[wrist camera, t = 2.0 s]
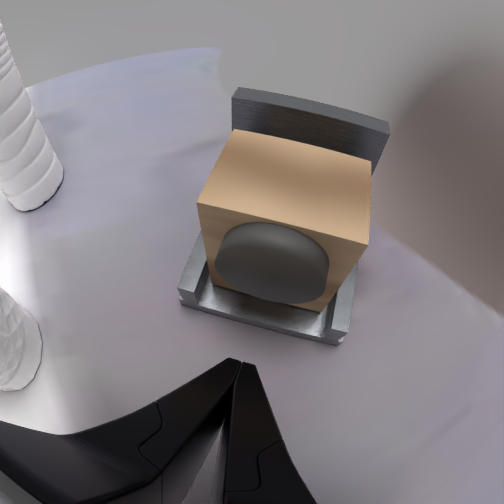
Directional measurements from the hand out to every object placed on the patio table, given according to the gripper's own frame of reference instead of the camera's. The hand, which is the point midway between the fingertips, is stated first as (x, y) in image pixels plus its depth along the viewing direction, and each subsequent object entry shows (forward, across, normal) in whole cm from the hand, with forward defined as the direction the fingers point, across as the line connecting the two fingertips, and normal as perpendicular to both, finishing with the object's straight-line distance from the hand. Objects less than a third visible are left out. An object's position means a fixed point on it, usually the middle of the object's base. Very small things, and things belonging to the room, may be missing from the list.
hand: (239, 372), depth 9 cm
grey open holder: (+14, 0, -1) cm, 14 cm away
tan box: (+11, 0, 0) cm, 11 cm away
